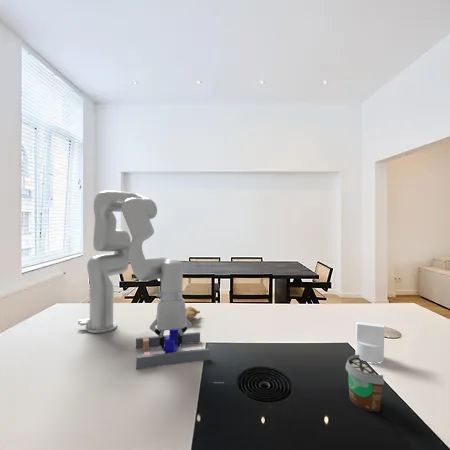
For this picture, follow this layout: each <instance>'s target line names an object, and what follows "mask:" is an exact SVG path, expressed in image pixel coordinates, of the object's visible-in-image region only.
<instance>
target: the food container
mask: <svg viewBox="0 0 450 450" xmlns="http://www.w3.org/2000/svg"><path fill="white" fill-rule="evenodd" d="M345 370H346V371H347V373H348V377H347V378H348V393H349V395H348V396H349V400H350V402H351V403H352V404H353V405H355V406H357V408H359V409H363V410H365V411H368V412H372V411H381V401H382V391H383V385H385V379H384V375H383V374H377V372H375V370H374V369H373V367H371V366H370V365H369V364H368V363H366V362H363V361H362V360H361V359H360V358H359V355H355V354H353V355H350V356H349V357H348V358H347V361H346V364H345Z"/></svg>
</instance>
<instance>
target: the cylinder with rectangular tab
mask: <svg viewBox="0 0 450 450" xmlns="http://www.w3.org/2000/svg"><path fill="white" fill-rule="evenodd" d="M355 324H356V325H355V354H354V355H359V358H360V359H361V360H363V361H366V362H371V363H378V362H381V361H383V362H384V355H385V353H384V352H385V351H384V350H385V349H384V348H385V325H384V324H383V323H382V324H381V323H373V322H365V321H356V323H355ZM366 362H365V363H366Z"/></svg>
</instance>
